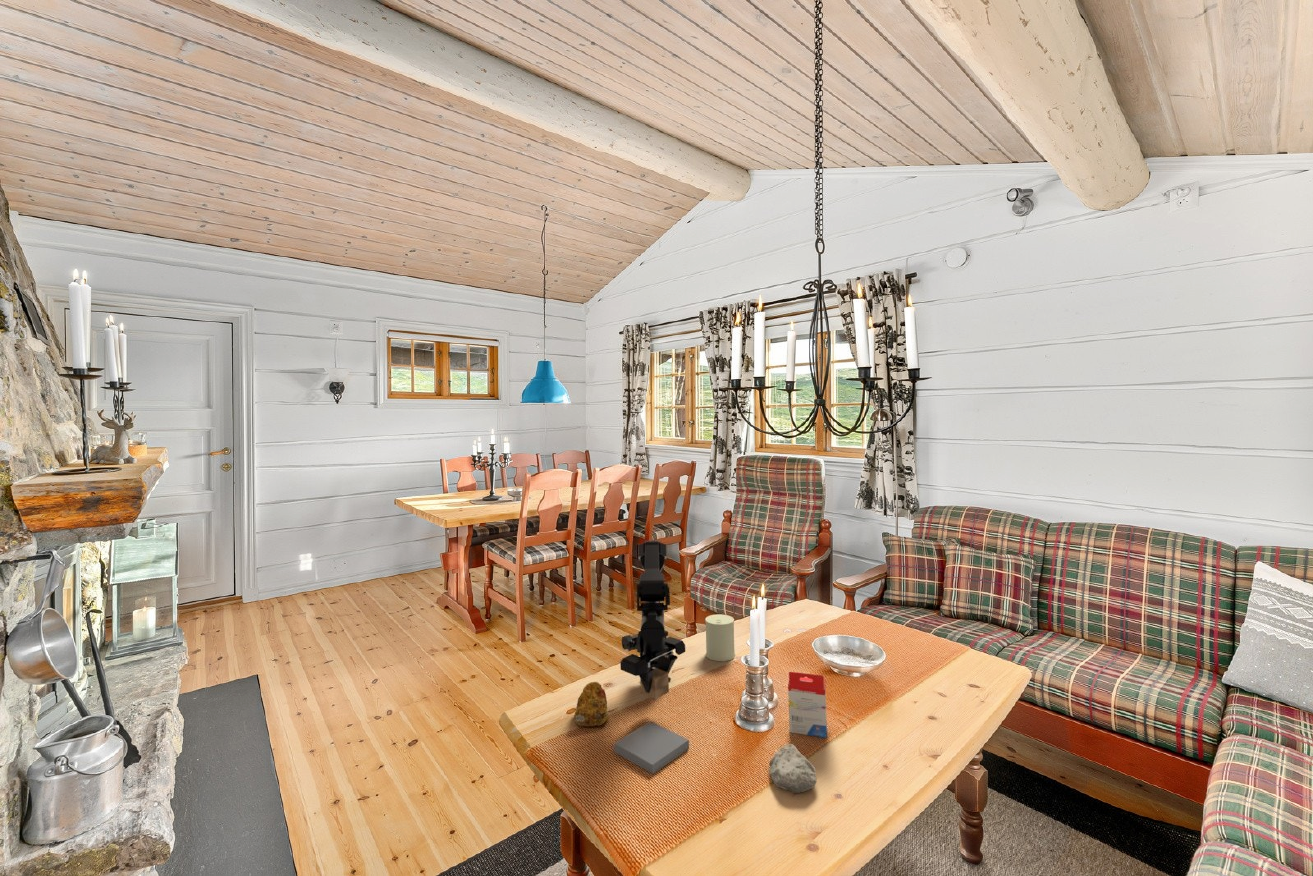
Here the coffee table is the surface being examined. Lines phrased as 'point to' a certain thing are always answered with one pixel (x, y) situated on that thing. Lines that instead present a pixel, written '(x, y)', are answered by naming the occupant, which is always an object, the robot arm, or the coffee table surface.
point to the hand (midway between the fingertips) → (654, 688)
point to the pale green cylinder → (720, 637)
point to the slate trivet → (651, 746)
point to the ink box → (807, 704)
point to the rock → (591, 706)
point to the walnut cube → (657, 684)
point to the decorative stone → (792, 770)
